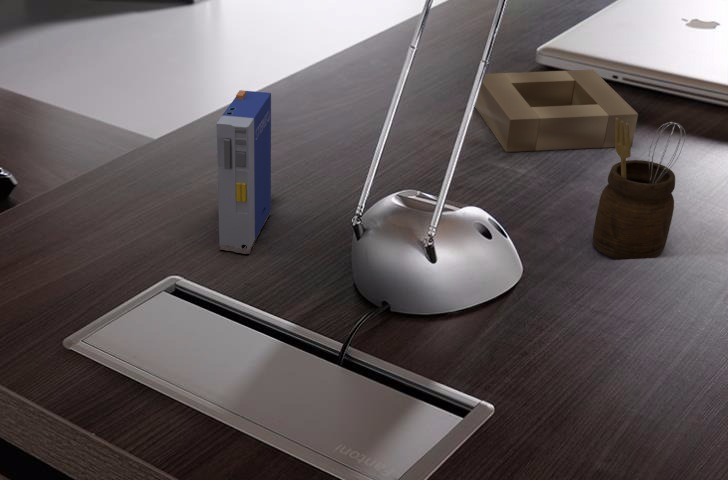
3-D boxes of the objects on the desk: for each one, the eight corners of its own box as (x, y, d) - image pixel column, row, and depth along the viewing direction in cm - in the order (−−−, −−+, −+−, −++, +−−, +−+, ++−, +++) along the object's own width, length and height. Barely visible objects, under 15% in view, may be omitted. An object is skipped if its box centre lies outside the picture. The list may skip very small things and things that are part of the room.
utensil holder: (679, 256, 91) (712, 121, 84) (618, 271, 89) (646, 134, 83) (633, 226, 96) (660, 96, 89) (573, 239, 94) (597, 107, 87)
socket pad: (587, 99, 121) (592, 69, 119) (632, 146, 110) (638, 113, 108) (472, 104, 120) (476, 74, 118) (505, 152, 109) (510, 119, 107)
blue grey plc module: (241, 211, 99) (239, 86, 93) (271, 215, 99) (271, 88, 92) (217, 252, 93) (214, 120, 86) (248, 256, 92) (247, 123, 86)
